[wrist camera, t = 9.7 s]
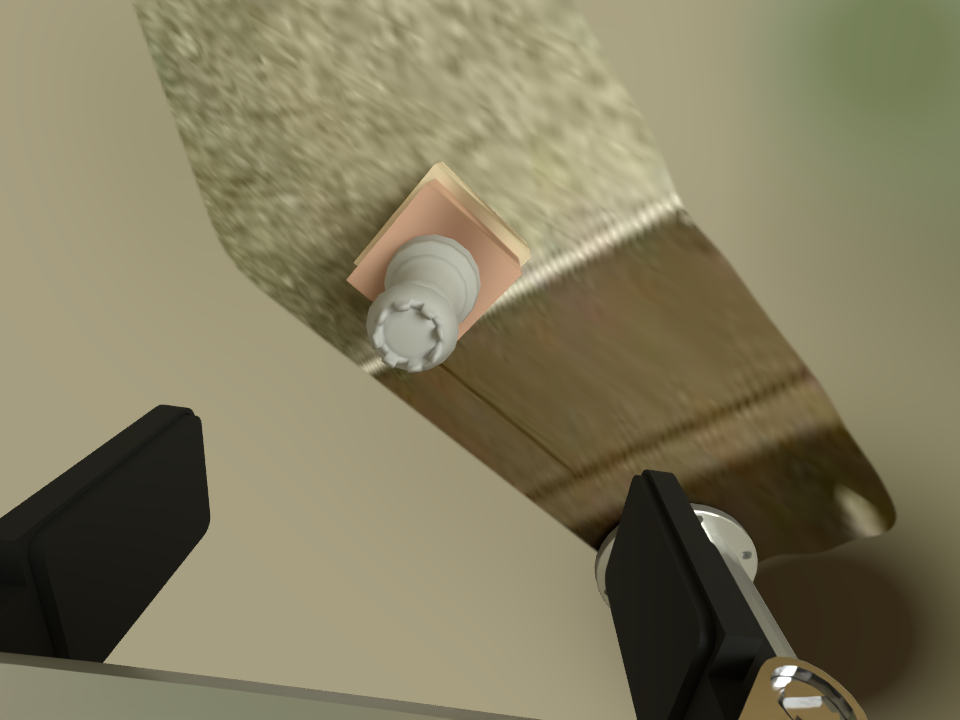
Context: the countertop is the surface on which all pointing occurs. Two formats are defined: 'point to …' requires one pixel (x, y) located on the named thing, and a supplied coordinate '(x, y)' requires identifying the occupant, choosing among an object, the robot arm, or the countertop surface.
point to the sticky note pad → (454, 215)
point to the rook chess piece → (423, 303)
